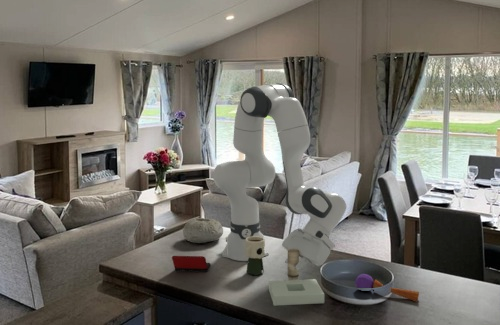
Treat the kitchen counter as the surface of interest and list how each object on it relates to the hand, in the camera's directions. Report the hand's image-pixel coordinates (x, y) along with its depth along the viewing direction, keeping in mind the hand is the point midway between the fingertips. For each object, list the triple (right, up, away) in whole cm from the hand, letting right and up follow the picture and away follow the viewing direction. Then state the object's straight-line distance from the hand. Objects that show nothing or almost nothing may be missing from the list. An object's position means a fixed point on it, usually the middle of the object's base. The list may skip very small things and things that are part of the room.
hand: (291, 266), depth 163 cm
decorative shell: (-35, 0, +49) cm, 60 cm away
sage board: (+1, -8, -9) cm, 12 cm away
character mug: (-12, -5, +11) cm, 17 cm away
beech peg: (+1, -6, +1) cm, 6 cm away
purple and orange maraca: (+30, -8, -8) cm, 32 cm away
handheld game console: (-36, -5, +15) cm, 39 cm away
